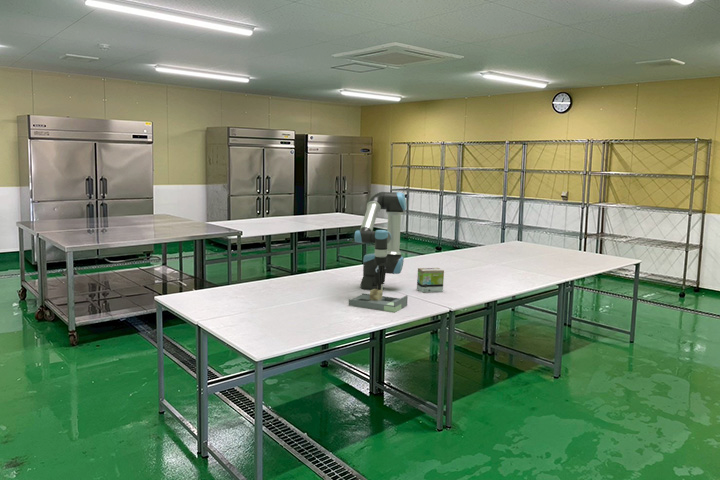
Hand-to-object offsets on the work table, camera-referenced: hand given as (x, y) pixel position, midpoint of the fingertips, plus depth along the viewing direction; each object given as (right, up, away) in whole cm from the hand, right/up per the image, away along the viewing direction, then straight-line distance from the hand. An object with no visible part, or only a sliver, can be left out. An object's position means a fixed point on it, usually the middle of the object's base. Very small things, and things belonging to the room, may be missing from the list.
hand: (380, 294), depth 335 cm
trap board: (-1, -6, -5) cm, 8 cm away
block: (-3, -2, -2) cm, 4 cm away
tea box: (+34, -1, +36) cm, 50 cm away
